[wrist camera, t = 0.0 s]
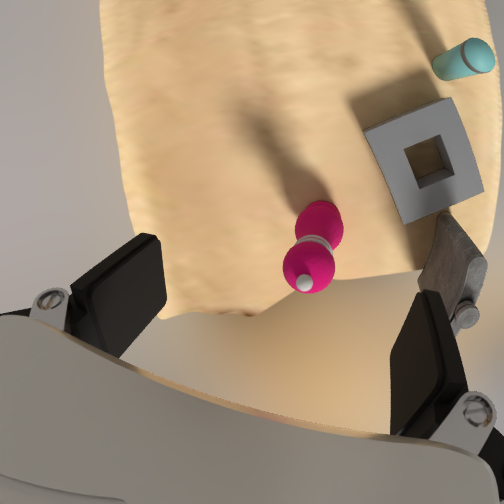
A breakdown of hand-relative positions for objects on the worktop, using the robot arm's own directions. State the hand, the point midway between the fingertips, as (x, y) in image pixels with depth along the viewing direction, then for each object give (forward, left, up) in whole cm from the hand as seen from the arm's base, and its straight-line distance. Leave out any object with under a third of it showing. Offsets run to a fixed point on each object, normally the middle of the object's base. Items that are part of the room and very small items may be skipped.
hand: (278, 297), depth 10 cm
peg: (-5, +22, -37) cm, 44 cm away
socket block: (+6, +12, -37) cm, 40 cm away
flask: (+22, +10, -38) cm, 45 cm away
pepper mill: (+9, -7, -38) cm, 39 cm away
